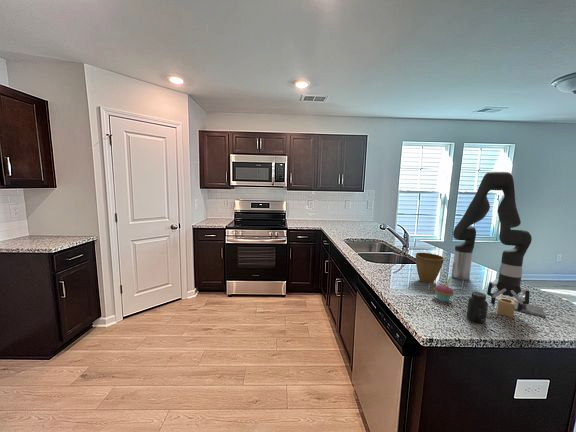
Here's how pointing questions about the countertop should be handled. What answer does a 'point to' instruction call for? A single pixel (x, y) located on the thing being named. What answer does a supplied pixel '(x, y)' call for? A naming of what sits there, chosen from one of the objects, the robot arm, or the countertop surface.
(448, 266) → the countertop surface
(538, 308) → the post fixture
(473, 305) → the supplement bottle
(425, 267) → the plant pot
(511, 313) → the tan cube
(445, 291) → the cupcake
